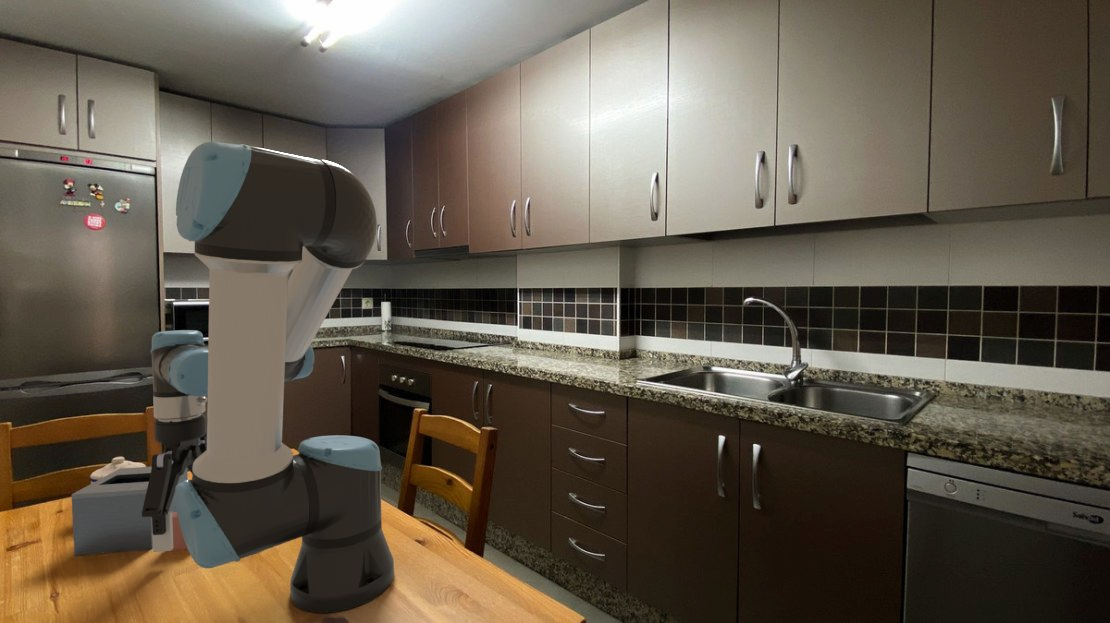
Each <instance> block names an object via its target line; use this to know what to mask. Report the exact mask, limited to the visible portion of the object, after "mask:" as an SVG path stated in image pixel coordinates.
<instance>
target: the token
mask: <svg viewBox="0 0 1110 623" xmlns="http://www.w3.org/2000/svg"><path fill="white" fill-rule="evenodd" d="M172 522H173V549H172V550H171V551H183V550H184V551H185V550H188V548H187V545H186V543H185V540H184V537H183V534H182V530H181V527H180V523H179V519H178V515H177V512H173V513H172ZM171 551H170V552H171Z"/></svg>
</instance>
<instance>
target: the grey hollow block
mask: <svg viewBox="0 0 1110 623" xmlns="http://www.w3.org/2000/svg"><path fill="white" fill-rule="evenodd" d="M151 469H152V466H146V467H136V468H120V469H118V470H116V471H114V472H113V473H111V474H109V475H107V476H105V477H103V478H101V479H99V480H98V481H96V482H94V483H92V484H91V483H90V484H88V485H86V486H84V487H83V488H81V489H79V490H77V491H75V492H73V493H72V494H71V512H72V515H71V516H72V531H73V532H72V534H73V535H72V536H73V551H74V553H73V554H74V557H77V556H88V555H98V554H99V555H100V554H110V553H121V552H123V553H124V552H134V551H145V550H153V540H152V517H142V510H143V505H144V501H145V496H146V492H147V487H148V483H149V478H150V474H151ZM188 477H189V476H188V467H187V468H186V469H185V472H184V474H183V475H181V476H180V478H179V481H178V484H179V483H181V482H183V481H185V480H189V479H188ZM178 484H177V485H178ZM171 511H172V513H173V512H177V510H176V504H175V493H174V496H173V499H172V502H171V505H170V508H169V511H168V512H171Z"/></svg>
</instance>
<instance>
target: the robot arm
mask: <svg viewBox="0 0 1110 623" xmlns="http://www.w3.org/2000/svg"><path fill="white" fill-rule="evenodd" d="M175 204H176V205H175V216H176V228H177V232H178V234H179V235H180V237H181V238H183V239H185V240H187V241H189V242H194V256H195V257H196V258H198V260H200V261H201V262H202V263H203V264H204V265H205V266H206V267H207V268H208V270H209V284H208V285H209V288H208V290H209V291H208V292H209V293H208V294H209V295H208V345H207V346H206V344H205V341H204V335H203V333H202V332H201V331H199V330H193V329H191V330H190V329H187V330H186V329H181V330H180V329H179V330H166V331H165V330H163V331H158V332H156V333H154V334H153V335H152V336H151V349H150V351H149V352H150V355H151V369H152V388H153V389H152V390H153V396H152V397H153V398H152V401H153V417H154V418H155V419H156V420H155V421H154V423H153V426H154V440H155V442H157V443H161V444H162V445H163V446H164V447H163V453H159V454H157V453H156V454H155V453H154V454H153V455H152V457H151V467H152V469H151V474H150V478H149V483H148V487H147V492H146V496H145V501H144V505H143V510H142V517H152V540H153V548H152V553H157V552H158V553H159V552H160V553H161V552H171V550H172V549H173V522H172V511H171V512H168V511H169V508H170V505H171V502H172V499H173V496H174V493H175V504H176V510H177V515H178V519H179V523H180V527H181V530H182V534H183V537H184V540H185V543H186V545H187V548H188V549H187V551H188V553H189V554H190V557H191V558H192V560H193V561H194V563H195V564H196V565H198V566H199V567H200V568H202V569H213V568H217V567H220V566H222V565H223V566H224V565H226V564H229V563H233V562H236V563H237V562H240V561H241V559H244V558H247V557H250V556H253V555H255V554H258V553H261V552H263V551H267V550H269V549H272V548H274V547H277V546H280V545H283V544H285V543H288V542H291V541H293V540H296V539H299V538H301V546H300V548H299V553H298V554H297V558H296V561H295V564H294V568H293V570H292V571H293V572H292V574H291V578H290V585H289V586H290V589H289V590H290V601H291V602H292V604H293V605H294V606H295V607H297V608H299V609H300V610H303V611H305V612H311V613H321V614H322V613H324V614H325V613H334V612H335V613H336V612H341V611H346V610H349V609H353V608H357V607H359V606H362V605H363V604H367V603H368V602H370V601H372V600H374V599H376V598H377V597H378V596H380V595H381V594H383V593H384V592H385V591H386V590H387V589H388V588H389V587H390V585H391V583H392V582H393V580H394V576H395V564H394V557H393V555H392V552H391V549H390V547H389V544H388V542H387V539H386V537H385V534H384V531H383V528H382V527H383V525H382V476H381V475H382V474H381V473H382V470H383V466H382V462H381V454H380V452H381V451H380V448H379V445H377V443H375V441H373V440H371V439H369V438H365V437H362V436H356V435H355V436H354V435H345V434H344V435H339V434H336V435H335V434H334V435H321V436H314V437H309V438H307V439H304V440H302V441H301V442H300V443H299V446H298V448H297V452H298V453H297V454H294V452H293V451H292V449H291V448H290V447H289V446H287V445H286V444H285V443H283V442H282V441H283V423H284V422H283V420H284V417H283V416H284V396H285V395H284V394H285V392H284V391H285V382H292V381H294V380H298V379H303V378H307V377H308V376H310V375H311V374H312V372H313V369H314V364H315V354H314V348H313V346H312V342H313V341H314V339H315V337H316V335H317V334H318V332H319V331H320V329H321V326H322V325H323V323H324V321H325V319H326V318H327V316H328V314H329V312H330V310H331V309H332V306H333V305H334V303H335V301H336V299H337V298H338V295H339V294H340V292H341V290H342V289H343V287H344V285H345V284H346V282H347V279H348V278H349V276H350V274H351V272H352V270H355V269H357V268H360V267H362V265H363V264H364V263H365V262H366V260H367V258H368V256H369V255H370V252H371V251H372V249H373V246H374V244H375V241H376V236H377V226H378V222H377V214H376V208H375V205H374V202H373V200H372V196H371V195H370V193H369V191H368V190H367V188H366V187H365V185H364V184H363V183H362V181H361V180H360V179H359V178H358V177H357V176H356V175H355V174H354V173H352V171H350V170H349V169H348V168H345V167H344V166H342V165H341V164H340V165H339V164H338V163H335V162H332V161H329V160H325V159H321V158H319V159H316V158H311V157H304V156H300V155H295V154H292V153H291V154H290V153H285V152H280V151H276V150H271V149H266V148H261V147H258V146H257V147H256V146H251V145H246V144H243V143H241V144H237V143H227V142H220V141H206V142H202V143H200V144H199V145H197V146H196V147H195V148H194V149H193V150H192V151H191V152H190V155H189V156H188V157H187V159H186V162H185V164H184V167H183V169H182V172H181V176H180V179H179V184H178V189H177V194H176V202H175ZM291 271H292V272H291ZM290 273H291V275H290V276H289V274H290ZM206 403H207V406H206ZM206 408H207V411H206ZM204 412H207V416H206V414H204ZM186 468H187V470H189V472H190V473H191V476H192V477H191V479H188V480H185V481H183V482H181V483H179V484H178V481H179V478H180V476H181V475H183V474H184V472H185V469H186ZM177 484H178V485H177Z"/></svg>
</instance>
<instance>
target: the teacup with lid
mask: <svg viewBox="0 0 1110 623" xmlns="http://www.w3.org/2000/svg"><path fill="white" fill-rule="evenodd" d="M136 467H147V465H146V464H144V463H142V462H134V461H130V460H125V457H124V456H116V457H114V458H112V459H111V463H108V464H106V465H105V466H103V467H102V468H98V469H96V470H95V471H93V472H92V473H91V474H90V475H89V481H90V484H92V483H94V482H96V481H98V480H99V479H101V478H103V477H105V476H107V475H109V474H111V473H113V472H114V471H116V470H118V469H120V468H136Z"/></svg>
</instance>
